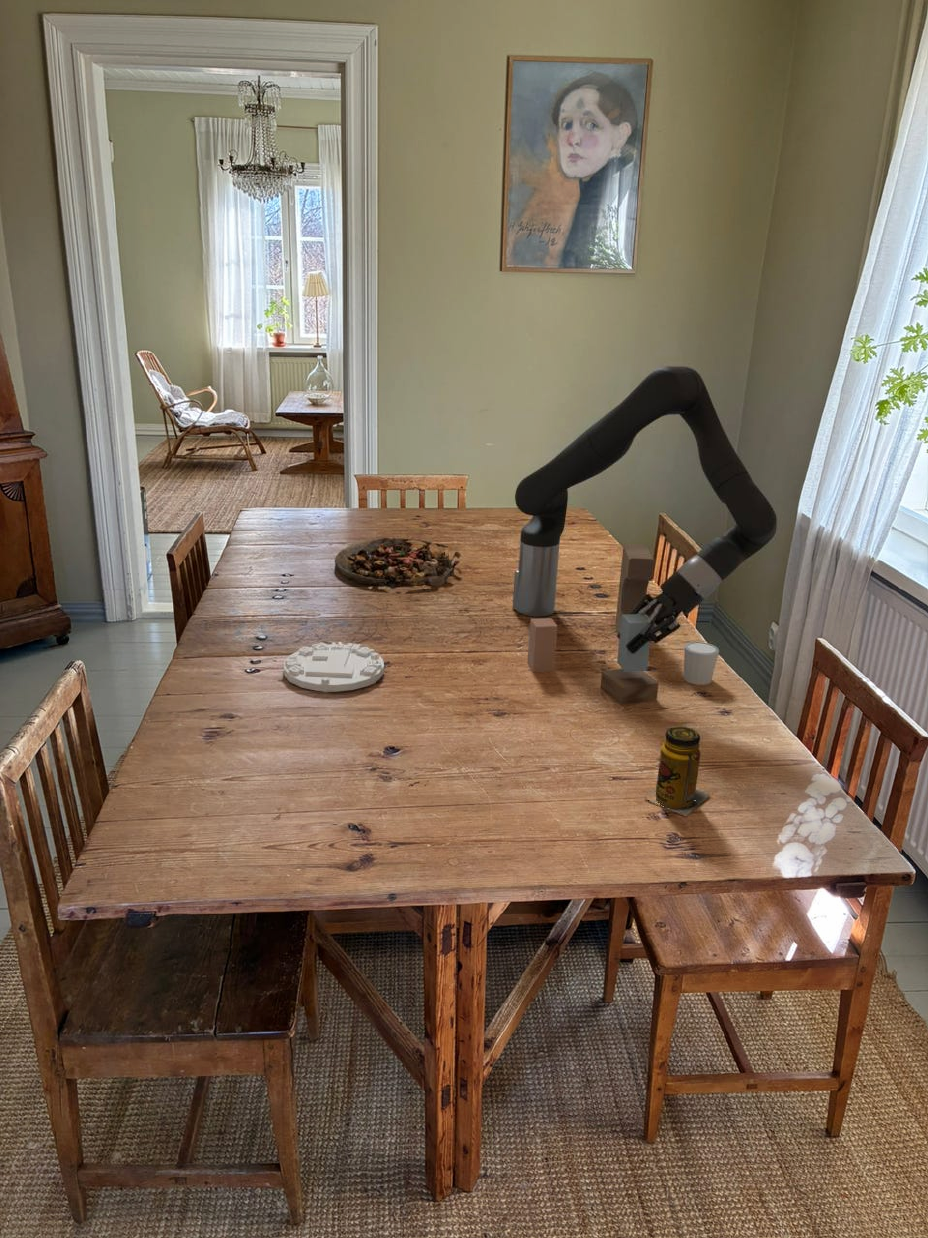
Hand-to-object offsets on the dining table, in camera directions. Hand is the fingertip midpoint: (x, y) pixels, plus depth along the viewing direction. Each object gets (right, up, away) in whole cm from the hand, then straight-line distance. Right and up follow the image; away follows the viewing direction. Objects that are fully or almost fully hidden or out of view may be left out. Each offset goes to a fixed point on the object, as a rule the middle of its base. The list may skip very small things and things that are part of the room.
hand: (624, 644), depth 181 cm
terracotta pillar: (-15, -5, +15) cm, 22 cm away
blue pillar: (+2, -4, +2) cm, 5 cm away
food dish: (-49, +18, +71) cm, 89 cm away
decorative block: (+7, +1, +33) cm, 33 cm away
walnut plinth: (+1, -10, +4) cm, 11 cm away
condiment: (+3, -24, -31) cm, 39 cm away
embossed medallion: (-57, -6, +8) cm, 58 cm away
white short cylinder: (+17, -8, +12) cm, 22 cm away
